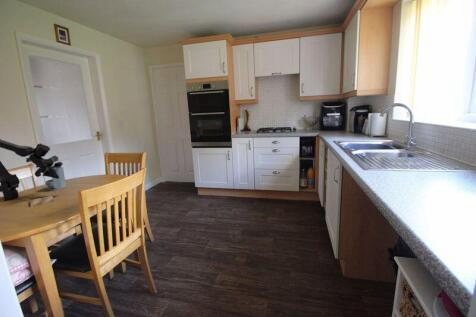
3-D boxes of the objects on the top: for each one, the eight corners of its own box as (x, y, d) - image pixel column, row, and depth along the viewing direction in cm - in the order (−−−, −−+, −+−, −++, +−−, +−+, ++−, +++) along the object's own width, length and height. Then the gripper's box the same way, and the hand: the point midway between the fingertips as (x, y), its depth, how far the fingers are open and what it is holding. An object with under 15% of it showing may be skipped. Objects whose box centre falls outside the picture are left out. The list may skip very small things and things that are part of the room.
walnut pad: (30, 206, 137) (30, 204, 136) (30, 202, 144) (30, 200, 144) (54, 201, 144) (53, 199, 144) (52, 197, 151) (52, 195, 151)
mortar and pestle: (52, 192, 161) (49, 175, 159) (44, 190, 165) (40, 174, 162) (68, 187, 172) (65, 171, 169) (60, 185, 175) (57, 170, 172)
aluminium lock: (61, 187, 150) (58, 168, 147) (53, 188, 150) (50, 168, 147) (66, 186, 154) (62, 167, 151) (58, 186, 153) (54, 167, 151)
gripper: (35, 155, 138) (57, 172, 140) (57, 150, 156) (77, 165, 159) (24, 168, 139) (47, 185, 142) (47, 161, 157) (67, 176, 160)
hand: (60, 177), depth 150 cm, fingers closed on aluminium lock, 4 cm apart
